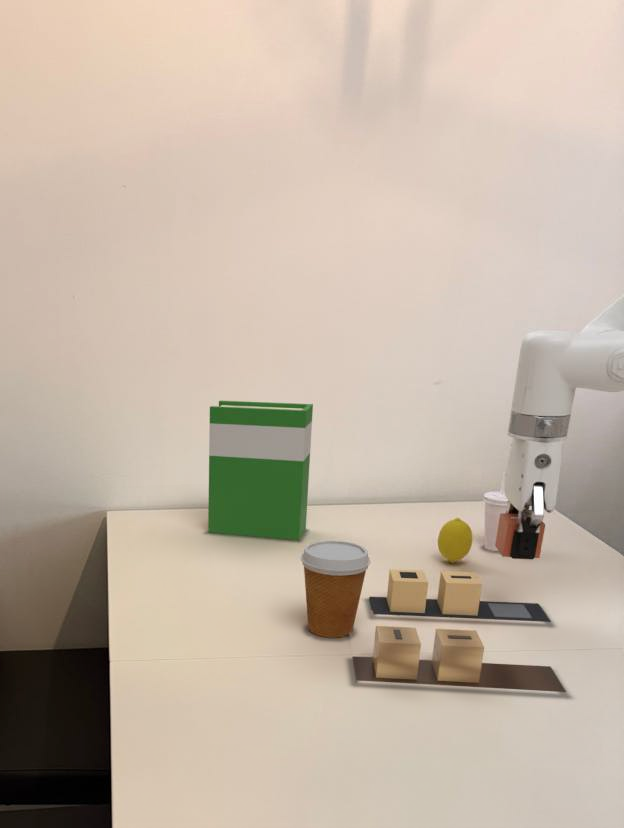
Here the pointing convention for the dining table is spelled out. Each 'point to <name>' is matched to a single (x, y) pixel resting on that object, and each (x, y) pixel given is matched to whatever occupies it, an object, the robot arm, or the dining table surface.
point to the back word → (448, 599)
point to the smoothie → (494, 514)
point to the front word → (446, 663)
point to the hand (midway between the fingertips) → (517, 550)
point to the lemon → (455, 540)
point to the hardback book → (259, 468)
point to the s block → (507, 531)
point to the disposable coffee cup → (333, 585)
